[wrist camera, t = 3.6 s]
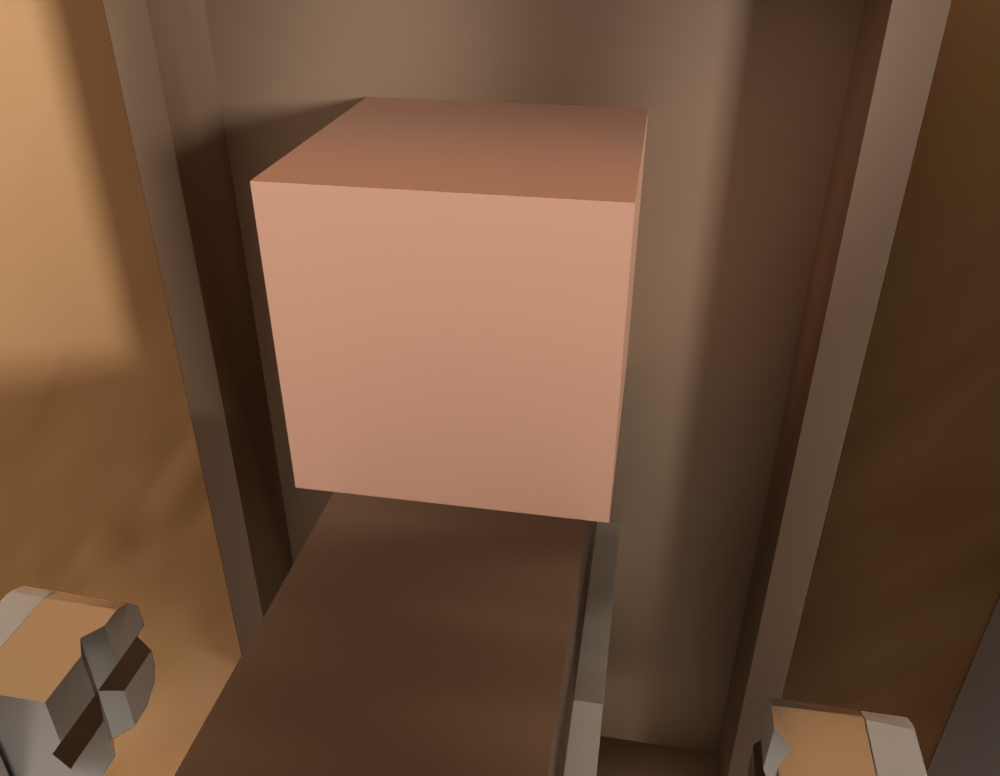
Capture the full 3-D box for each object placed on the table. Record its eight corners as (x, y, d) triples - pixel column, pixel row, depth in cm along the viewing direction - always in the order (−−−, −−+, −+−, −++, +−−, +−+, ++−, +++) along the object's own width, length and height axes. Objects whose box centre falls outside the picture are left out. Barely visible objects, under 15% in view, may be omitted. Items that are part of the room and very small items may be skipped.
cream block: (619, 523, 16) (602, 704, 12) (606, 677, 18) (587, 869, 14) (403, 498, 16) (329, 664, 13) (413, 650, 18) (352, 828, 15)
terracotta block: (648, 108, 12) (635, 202, 9) (627, 364, 14) (609, 523, 11) (366, 96, 13) (249, 180, 9) (385, 344, 15) (295, 487, 11)
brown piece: (909, -95, 11) (1683, 30, 3) (737, 717, 20) (782, 1417, 11) (200, -99, 13) (-842, -34, 4) (314, 656, 21) (48, 1224, 12)
